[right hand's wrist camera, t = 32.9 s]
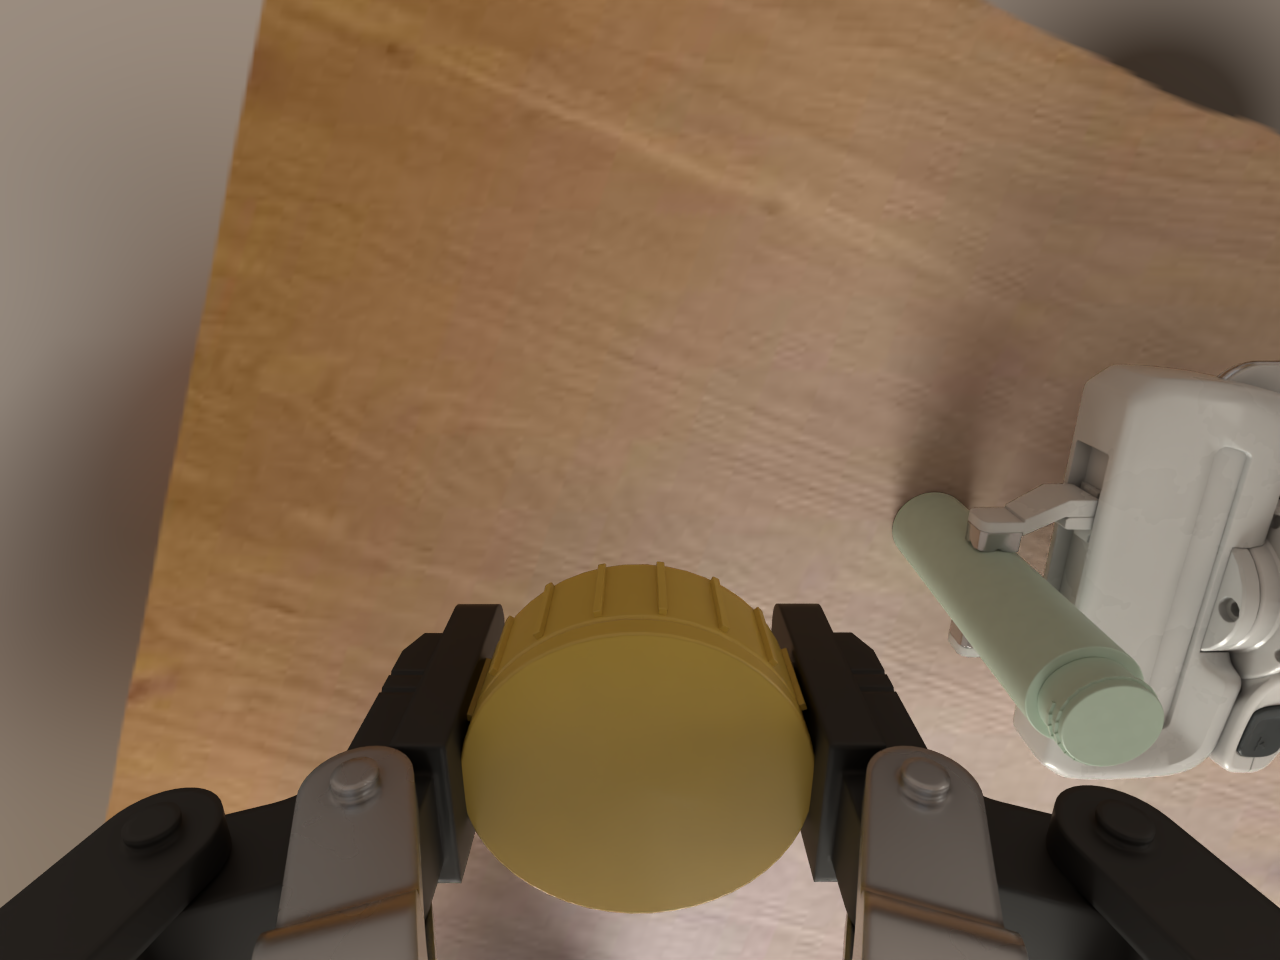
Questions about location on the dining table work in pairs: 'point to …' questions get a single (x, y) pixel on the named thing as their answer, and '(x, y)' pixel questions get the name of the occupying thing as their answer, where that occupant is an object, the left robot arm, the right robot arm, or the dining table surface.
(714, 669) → the lid
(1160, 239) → the dining table surface
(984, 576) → the jar
